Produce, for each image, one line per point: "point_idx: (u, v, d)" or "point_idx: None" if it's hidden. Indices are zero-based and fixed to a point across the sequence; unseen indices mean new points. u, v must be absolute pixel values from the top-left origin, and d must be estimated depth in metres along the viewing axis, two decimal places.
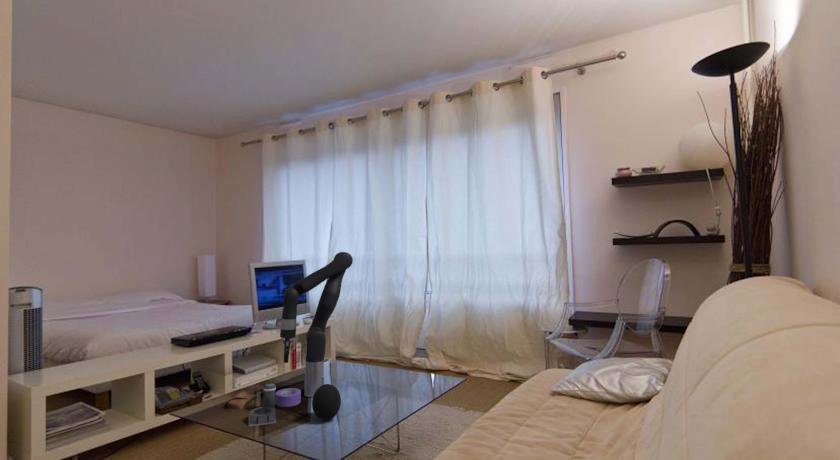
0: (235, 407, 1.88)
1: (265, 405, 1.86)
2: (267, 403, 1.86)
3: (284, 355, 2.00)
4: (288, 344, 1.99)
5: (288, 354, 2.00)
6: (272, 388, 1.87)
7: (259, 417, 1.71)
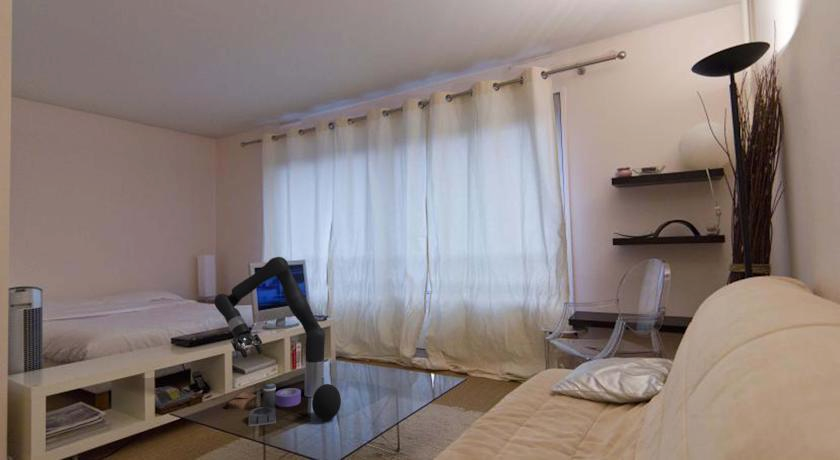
0: (236, 407, 1.88)
1: (265, 405, 1.86)
2: (267, 403, 1.86)
3: None
4: (233, 340, 1.92)
5: (241, 348, 1.91)
6: (272, 388, 1.87)
7: (259, 417, 1.71)
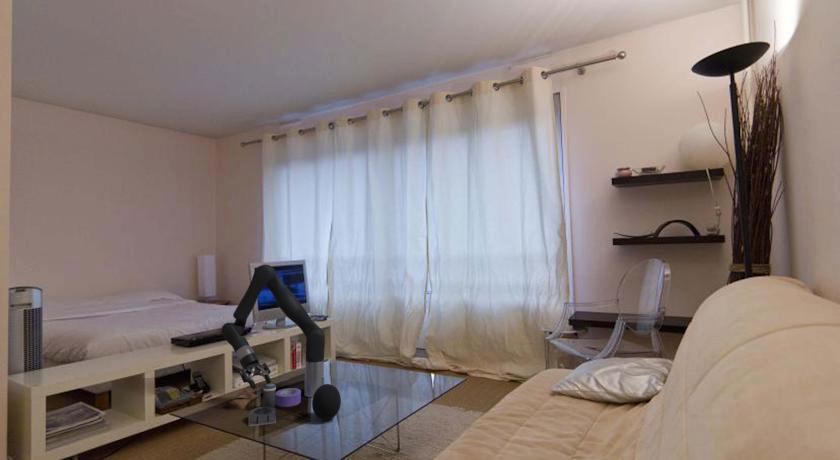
0: (237, 407, 1.88)
1: (265, 405, 1.86)
2: (267, 403, 1.86)
3: None
4: (241, 372, 1.88)
5: (250, 379, 1.87)
6: (272, 388, 1.87)
7: (259, 417, 1.71)
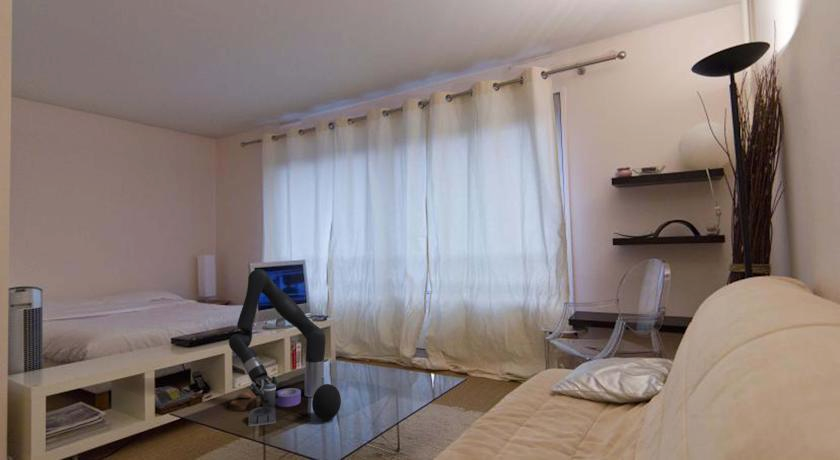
0: (238, 407, 1.88)
1: (265, 405, 1.86)
2: (267, 403, 1.86)
3: None
4: (251, 386, 1.85)
5: (262, 393, 1.85)
6: (272, 388, 1.87)
7: (259, 417, 1.71)
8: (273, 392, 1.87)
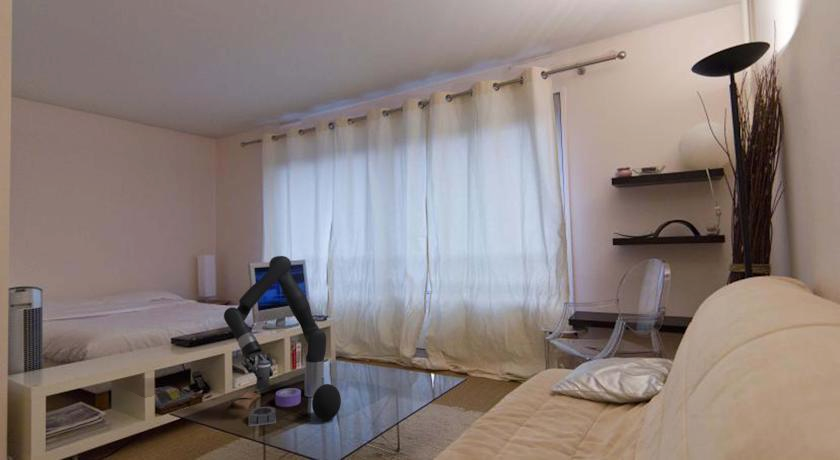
0: (240, 407, 1.88)
1: (258, 382, 1.76)
2: (260, 380, 1.76)
3: None
4: (245, 362, 1.75)
5: (256, 370, 1.76)
6: (266, 364, 1.77)
7: (259, 417, 1.71)
8: (267, 369, 1.78)
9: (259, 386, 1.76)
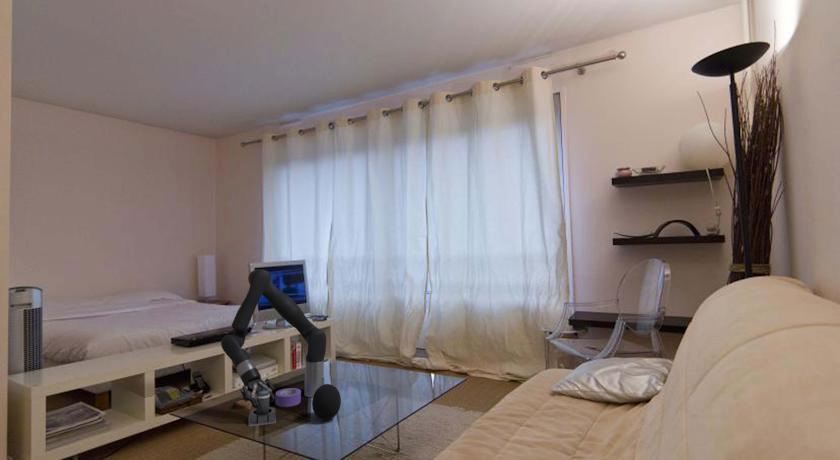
0: (243, 407, 1.88)
1: (258, 413, 1.74)
2: (260, 411, 1.74)
3: None
4: (242, 389, 1.74)
5: (252, 398, 1.73)
6: (265, 395, 1.76)
7: (259, 417, 1.71)
8: (267, 400, 1.76)
9: None
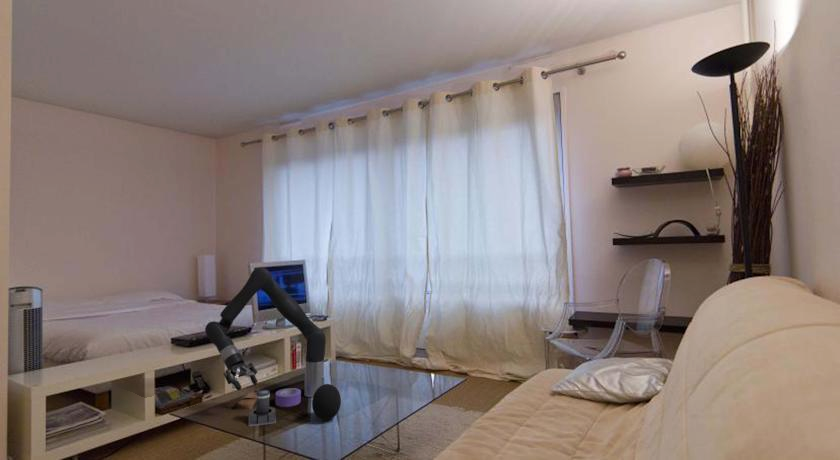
0: (244, 407, 1.88)
1: (258, 413, 1.74)
2: (260, 411, 1.74)
3: None
4: (226, 372, 1.81)
5: (234, 380, 1.80)
6: (265, 395, 1.76)
7: (259, 417, 1.71)
8: (267, 400, 1.76)
9: None
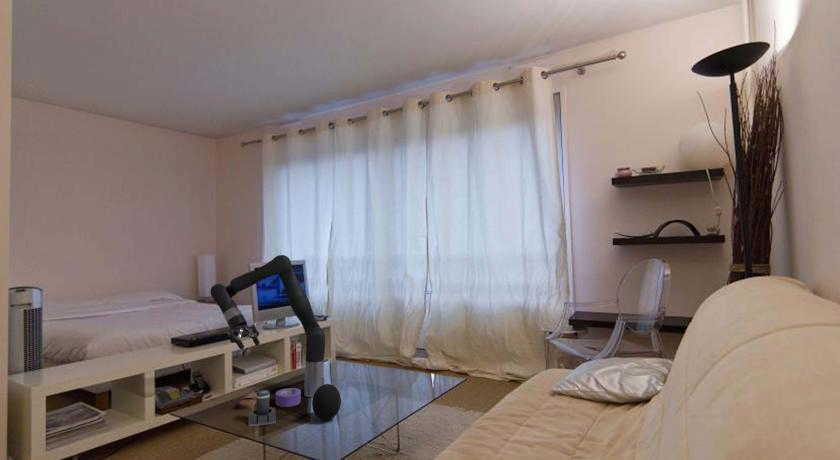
0: (245, 407, 1.88)
1: (258, 413, 1.74)
2: (260, 411, 1.74)
3: None
4: (229, 332, 1.86)
5: (237, 340, 1.85)
6: (265, 395, 1.76)
7: (259, 417, 1.71)
8: (267, 400, 1.76)
9: None
